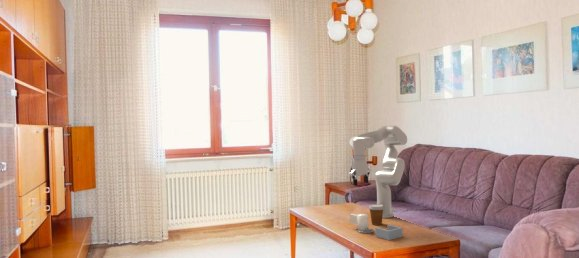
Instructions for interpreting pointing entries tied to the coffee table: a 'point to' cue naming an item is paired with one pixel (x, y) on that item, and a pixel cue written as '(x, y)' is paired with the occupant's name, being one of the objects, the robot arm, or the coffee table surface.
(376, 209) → the disposable coffee cup
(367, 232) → the grey round disc
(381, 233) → the holder
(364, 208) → the coffee table surface
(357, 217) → the white lever knob
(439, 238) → the coffee table surface
